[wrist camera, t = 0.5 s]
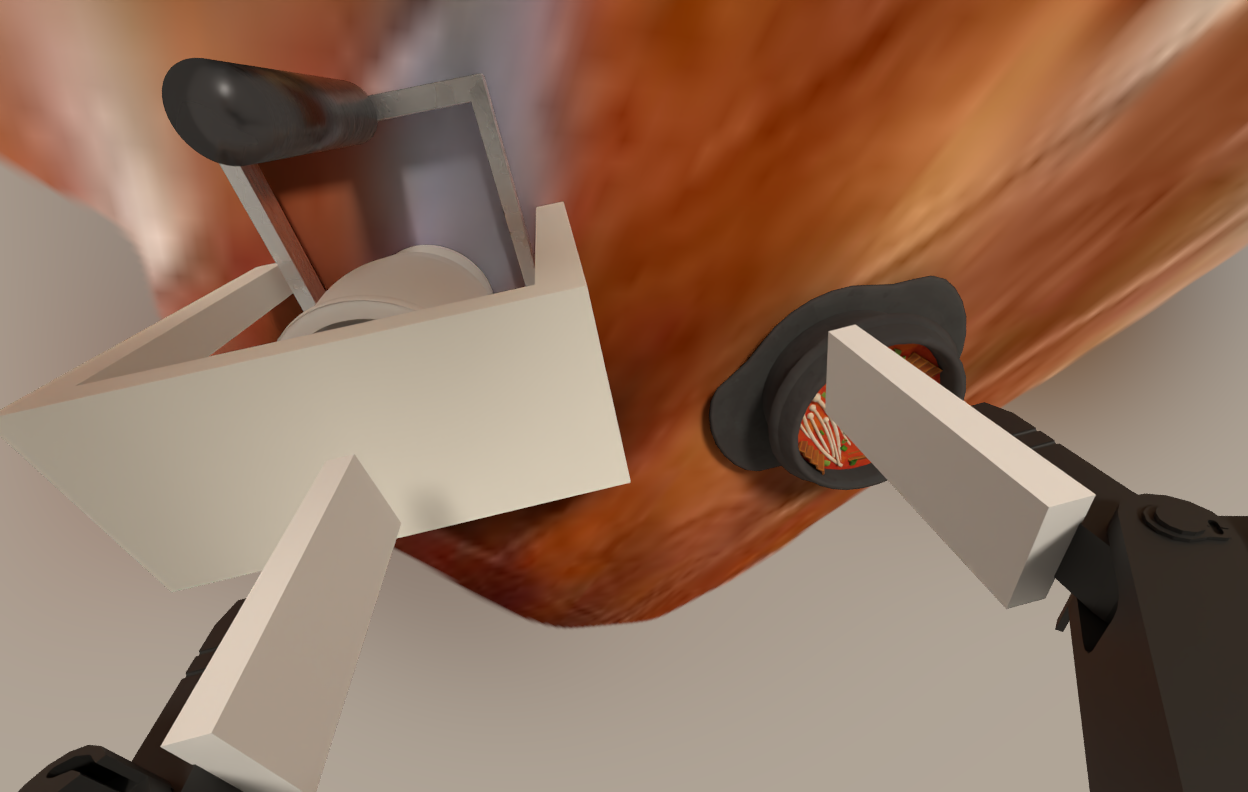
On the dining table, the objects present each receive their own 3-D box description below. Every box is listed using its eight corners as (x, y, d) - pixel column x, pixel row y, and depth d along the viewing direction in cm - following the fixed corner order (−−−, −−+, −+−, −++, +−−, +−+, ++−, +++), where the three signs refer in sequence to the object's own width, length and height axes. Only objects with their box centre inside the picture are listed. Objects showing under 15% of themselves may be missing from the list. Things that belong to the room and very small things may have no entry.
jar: (536, 302, 38) (536, 399, 25) (450, 384, 40) (410, 509, 28) (424, 196, 33) (351, 250, 20) (333, 296, 35) (217, 401, 23)
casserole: (741, 490, 52) (773, 550, 45) (671, 361, 43) (698, 412, 35) (960, 382, 49) (1031, 428, 42) (938, 217, 40) (1026, 241, 32)
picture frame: (209, 109, 28) (-66, 108, 15) (478, 55, 29) (431, 11, 16) (370, 403, 39) (290, 544, 26) (562, 359, 40) (574, 477, 27)
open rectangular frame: (256, 267, 33) (-19, 419, 17) (563, 201, 34) (587, 285, 18) (391, 493, 45) (306, 715, 29) (617, 440, 46) (662, 625, 29)
